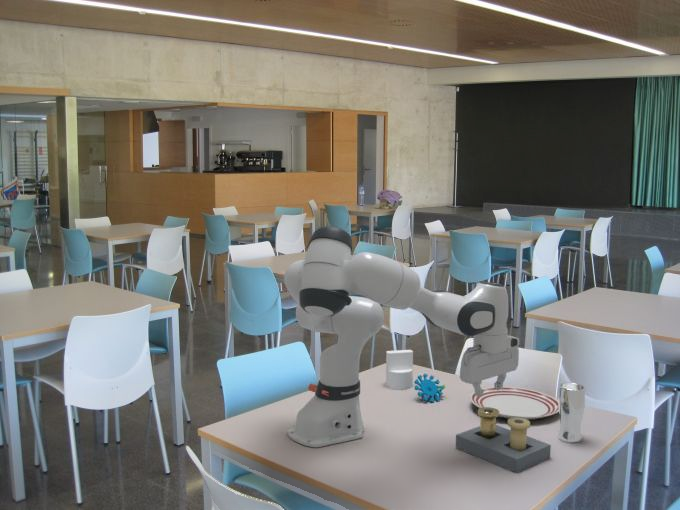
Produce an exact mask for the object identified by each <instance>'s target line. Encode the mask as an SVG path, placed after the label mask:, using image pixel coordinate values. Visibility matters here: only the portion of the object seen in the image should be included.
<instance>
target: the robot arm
mask: <svg viewBox="0 0 680 510" xmlns="http://www.w3.org/2000/svg"><path fill="white" fill-rule="evenodd" d="M306 249H307V250H306V255H305V259H300V260H296V261H294V262H293V263H291V264H290V265H289V266H288V267H287V268H286V270H285V273H284V277H283V279H284V280H283V281H284V284H285V287H286V289H287V291H288V293H289V294H290V296H291V297H292V299H293V300H294V301H295V302H296V303H297V305H296V308H295V317H296V320H297V323H298V324H299V326H300V327H301V328H304V329H306V330H309V331H313V332H316V333H324V334H332V335H337V337H338V338H337V343H335V344H332V345H330V346H328V347H327V348H324V350H323V351H322V353H321V354H320V357H319V380H318V382H317V385H315V384H313V383H310V384H308V386H307V388H308V389H307V390H308V391H310V392H312V393H314V396H312V398H310V400H308V402H307V403H305V405H304V406H303V407H302V408H301V409H300V410H299V411H298V412H297V414H296V418H295V426H293V427H290V428H289V429H287V431H286V433H287V436H288V437H289V439H291V440H292V441H294V442H296V443H298V444H300V445H303V446H306V447H309V448H310V447H311V448H320V447H326V446H331V445H335V444H339V443H344V442H348V441H352V440H353V441H354V440H358V439H361V438H363V437H364V436H363V433H364V431H365V425H364V422H363V418H362V411H361V405H360V403H361V402H360V394H361V380H360V379H359V378H360V377H359V376H360V375H359V374H360V361H361V359H360V358H361V354H362V351H363V348H364V346H365V344H366V343H367V342H368V341H369V340H370V339H371V338H372V337H373V336H375V335H377V333H379V332H380V331H381V328H382V327H383V324H384V322H385V321H384V319H385V315H384V314H385V313H384V309H383V307H382V306H384V307H387V308H390V309H395V310H402V311H403V310H404V311H405V310H406V309H408V308H409V309H412V310H415V311H416V312H419V314H421V315H422V316H423V317H424V318H425V320H426V321H427V322H428V323H429V324H430V325H432V327H435V328H440V329H445V330H447V331H450V332H454V333H456V334H459V335H462V336H468V337H473V339H472V340H473V341H472V343H473V344H472V347H467V348H466V350H465V351H464V352H463V355H462V358H461V362H460V368H459V379H460V380H461V382H463V383H465V384H469V385H472V386H473V389H474V391H475V396H478V397H480V396H483V392H484V390H483V388H482V387H481V385H482V381H485V380H488V379H492V378H495V377H497V378H496V381H494V385H493V387H494V388H495V389H496V390H501V389H503V387H504V383H505V381H506V378H507V374H509V373H511V372H514V371H516V370H517V368H518V366H519V359H520V357H519V354H520V349H519V345H520V338H518V337H515V336H513V335H509V334H508V333H509V331H508V327H507V322H508V318H509V295H508V290H507V288H506V286H504V285H503V284H500V283H497V282H491V281H484V280H483V281H482V280H481V281H479V282H477V284H476V287H475V288H474V289H472V290H471V292H469V293H466V295H460V294H457V293H453V292H452V291H451V292H450V291H447V290H444V289H437V290H430V289H427V288H425V287H423V286H422V285H421V279H420V276H419V274H418V273H417V272H416V271H415V270H413V269H412V268H410V267H409V266H407V265H405V264H404V263H402V262H400V261H398V260H395V259H393V258H390V257H388V256H385V255H381V254H377V253H373V252H369V251H362V252H359V253H356V254H355V255H354V256H353V257H352V255H351V254H352V252H353V239H352V236H351V234H350V233H348V232H347V231H346V230H344V229H343V228H340V227H337V226H331V225H326V226H321V227H319V228H317V229H315V230H314V232H313V233H312V235H311V236H310V239H309V241H308V245H307V247H306ZM351 257H352V258H351ZM353 295H355V296H353ZM356 295H358V296H356Z"/></svg>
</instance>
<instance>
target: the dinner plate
mask: <svg viewBox="0 0 680 510" xmlns="http://www.w3.org/2000/svg"><path fill="white" fill-rule="evenodd" d="M482 389H483V390H484V392H483V396H480V397H478V396H475V390H474V391H472V393H471V394H470V396H469V400H470V402H471V403H472V404H473V405H474V406H475V407H477V408H478V409H479V408H483V407H491V408H495V409H497V410H499V416H498V418H499V417H500V418H503V419H506V420H508V419H510V418H524V419H527V420H529V421H530V420H531V421H532V420H537V419H543V418H546V417H550V416H553V415H555V414H557V413H559V407H558V399H557V398H555V397H553V396H552V395H549V394H547V393H544V392H540V391H538V390H534V389H530V388H523V387H515V386H503V389H501V390H496V389H495V388H494V386H490V387H489V386H488V387H484V388H482Z"/></svg>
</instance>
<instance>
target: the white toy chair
mask: <svg viewBox="0 0 680 510" xmlns="http://www.w3.org/2000/svg"><path fill="white" fill-rule="evenodd" d="M385 354H386V355H385V359H386V360H385V365H386V366H385V386H386V387H387V388H388V389H391V390H395V391H396V390H397V391H405V390H409V389H411V388H413V383H414V381H413V377H414V376H413V371H414V367H413V366H414V365H413V364H414V350H412V349H399V350H398V349H397V350H386V353H385Z"/></svg>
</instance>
